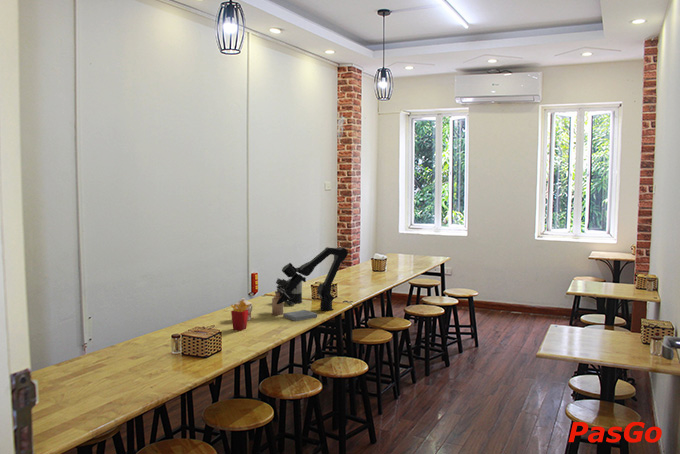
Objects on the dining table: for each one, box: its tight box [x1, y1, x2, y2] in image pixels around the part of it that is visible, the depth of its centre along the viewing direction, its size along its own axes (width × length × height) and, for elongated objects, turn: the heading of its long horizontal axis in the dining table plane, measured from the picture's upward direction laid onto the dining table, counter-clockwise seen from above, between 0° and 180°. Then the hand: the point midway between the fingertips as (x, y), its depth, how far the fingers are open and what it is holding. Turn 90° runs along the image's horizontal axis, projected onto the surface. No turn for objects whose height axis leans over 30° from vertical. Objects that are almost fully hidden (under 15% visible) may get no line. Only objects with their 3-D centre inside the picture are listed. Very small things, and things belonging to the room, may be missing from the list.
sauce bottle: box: [271, 290, 284, 316], centre depth 316 cm, size 6×6×13 cm
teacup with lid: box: [235, 297, 253, 322], centre depth 303 cm, size 12×9×12 cm
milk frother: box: [284, 277, 303, 306], centre depth 344 cm, size 14×16×15 cm
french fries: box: [230, 301, 250, 332], centre depth 282 cm, size 9×8×15 cm
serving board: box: [282, 309, 318, 322], centre depth 310 cm, size 15×12×2 cm
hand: (275, 302), depth 316 cm, fingers closed on sauce bottle, 6 cm apart
